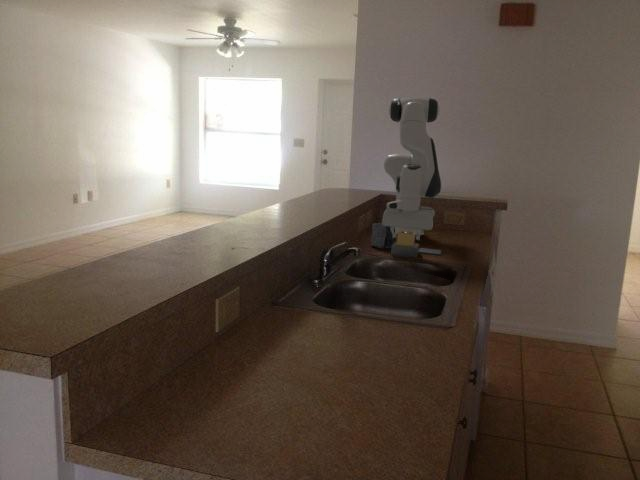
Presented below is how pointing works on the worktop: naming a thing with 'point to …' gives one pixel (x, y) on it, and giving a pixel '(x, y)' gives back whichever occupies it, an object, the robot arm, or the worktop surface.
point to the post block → (404, 250)
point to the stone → (382, 236)
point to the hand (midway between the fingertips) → (405, 239)
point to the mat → (429, 251)
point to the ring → (405, 238)
